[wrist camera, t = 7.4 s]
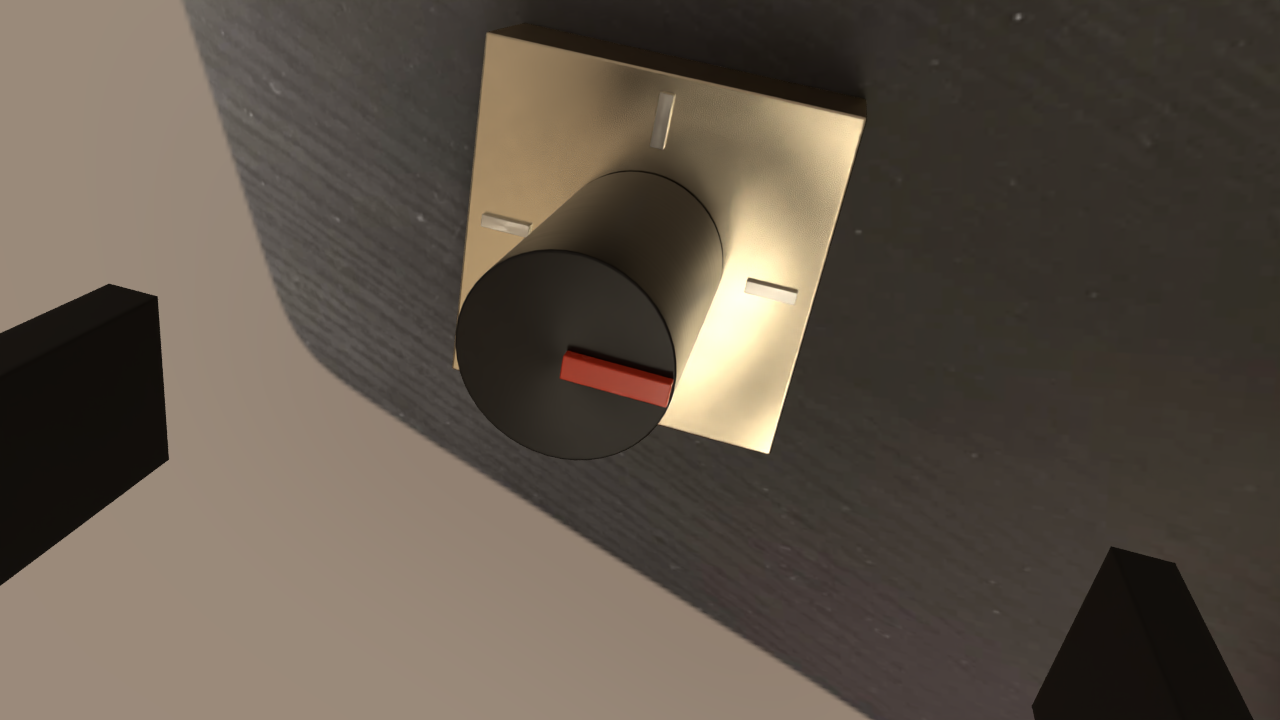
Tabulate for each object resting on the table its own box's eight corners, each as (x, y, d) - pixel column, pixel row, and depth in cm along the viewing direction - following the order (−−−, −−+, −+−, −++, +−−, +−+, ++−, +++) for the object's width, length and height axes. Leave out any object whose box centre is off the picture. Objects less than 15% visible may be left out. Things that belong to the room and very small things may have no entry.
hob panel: (778, 409, 30) (769, 458, 27) (486, 332, 31) (448, 371, 28) (867, 98, 25) (867, 118, 23) (523, 21, 26) (483, 31, 24)
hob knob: (541, 314, 27) (438, 433, 20) (566, 152, 25) (460, 228, 18) (701, 356, 26) (648, 494, 20) (740, 195, 24) (696, 289, 18)
